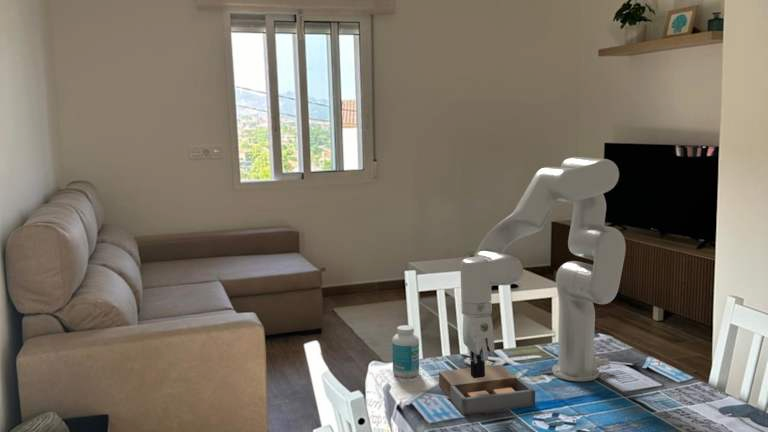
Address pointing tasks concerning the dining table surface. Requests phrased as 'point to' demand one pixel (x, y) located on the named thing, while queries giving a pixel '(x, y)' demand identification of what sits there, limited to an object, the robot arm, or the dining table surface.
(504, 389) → the tile
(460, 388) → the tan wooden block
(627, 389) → the dining table surface
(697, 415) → the dining table surface
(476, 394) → the tile
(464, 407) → the tray
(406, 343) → the pill bottle
